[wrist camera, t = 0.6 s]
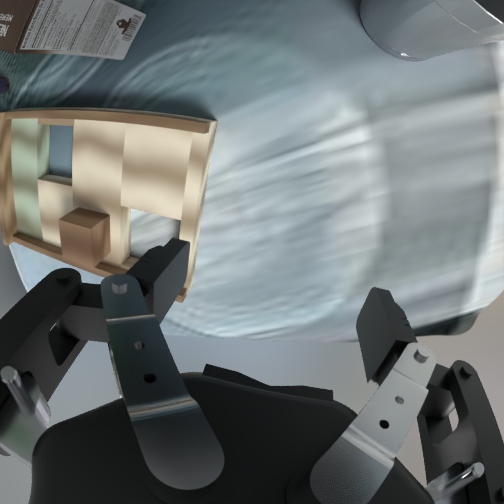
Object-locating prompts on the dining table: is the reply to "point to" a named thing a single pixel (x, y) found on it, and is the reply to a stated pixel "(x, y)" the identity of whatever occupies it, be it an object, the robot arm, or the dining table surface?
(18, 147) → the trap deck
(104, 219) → the walnut block
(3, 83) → the flask
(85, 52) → the coffee box
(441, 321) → the dining table surface
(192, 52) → the dining table surface
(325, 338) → the dining table surface
